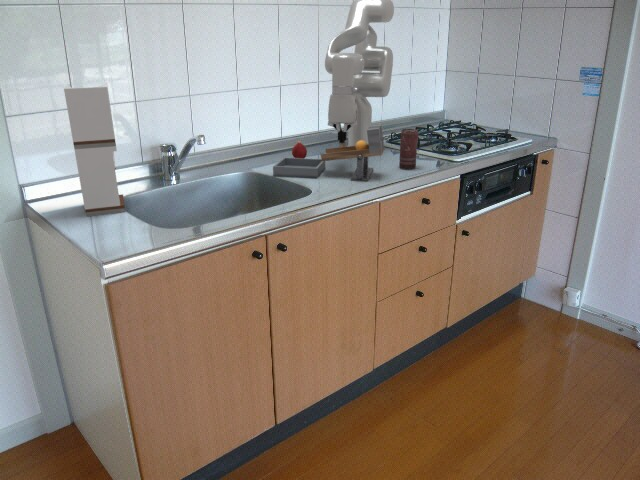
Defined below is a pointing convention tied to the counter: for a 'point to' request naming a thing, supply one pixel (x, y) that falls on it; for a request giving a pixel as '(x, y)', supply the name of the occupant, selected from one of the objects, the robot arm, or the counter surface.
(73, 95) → the grey pillar
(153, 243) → the counter surface
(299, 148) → the onion
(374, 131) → the chute
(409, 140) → the can
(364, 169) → the chute stand
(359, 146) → the ball
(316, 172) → the tray
